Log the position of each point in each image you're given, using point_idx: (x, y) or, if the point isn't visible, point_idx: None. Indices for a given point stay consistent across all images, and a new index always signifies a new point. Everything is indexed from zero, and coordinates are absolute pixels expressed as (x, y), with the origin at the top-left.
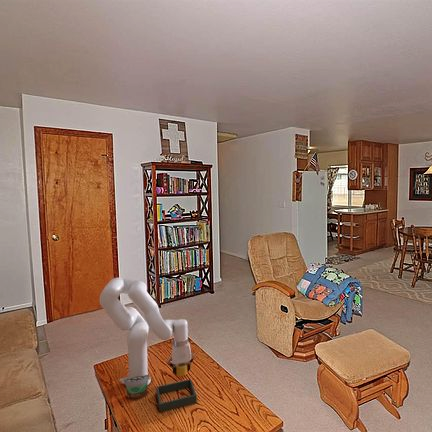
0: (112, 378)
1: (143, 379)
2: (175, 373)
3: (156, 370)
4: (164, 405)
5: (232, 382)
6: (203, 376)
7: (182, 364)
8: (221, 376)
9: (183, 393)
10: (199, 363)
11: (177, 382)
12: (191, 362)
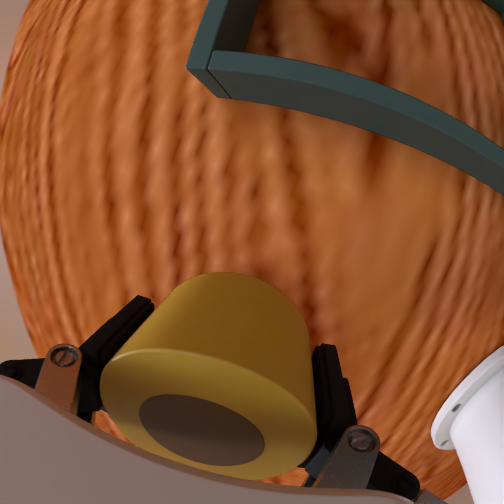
0: None
1: None
2: (328, 353)
3: None
4: None
5: (14, 54)
6: (72, 201)
7: (181, 429)
8: (10, 136)
9: (335, 28)
10: None
11: (404, 100)
12: (41, 358)
